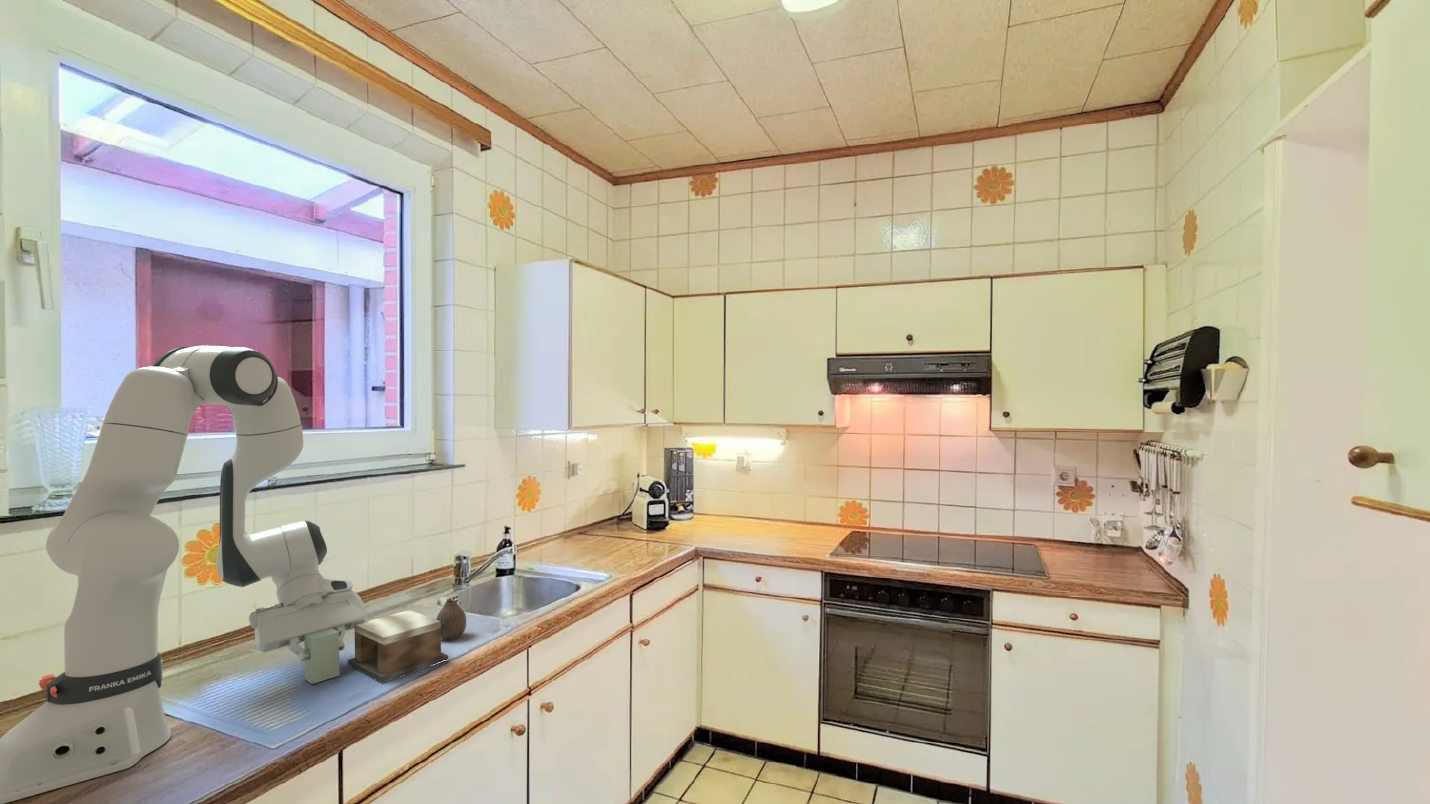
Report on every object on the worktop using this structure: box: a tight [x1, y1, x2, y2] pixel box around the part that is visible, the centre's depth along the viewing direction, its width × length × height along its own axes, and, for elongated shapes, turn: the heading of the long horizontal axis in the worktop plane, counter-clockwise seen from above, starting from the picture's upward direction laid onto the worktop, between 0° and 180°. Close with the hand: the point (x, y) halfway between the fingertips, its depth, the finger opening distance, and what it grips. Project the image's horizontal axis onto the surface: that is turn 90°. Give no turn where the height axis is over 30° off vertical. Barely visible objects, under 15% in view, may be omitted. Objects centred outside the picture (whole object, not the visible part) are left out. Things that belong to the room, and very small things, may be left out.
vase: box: [435, 599, 467, 642], centre depth 152 cm, size 7×7×9 cm
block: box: [304, 628, 340, 685], centre depth 130 cm, size 5×4×9 cm
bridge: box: [347, 609, 449, 684], centre depth 137 cm, size 14×16×9 cm
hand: (323, 654), depth 129 cm, fingers closed on block, 5 cm apart
